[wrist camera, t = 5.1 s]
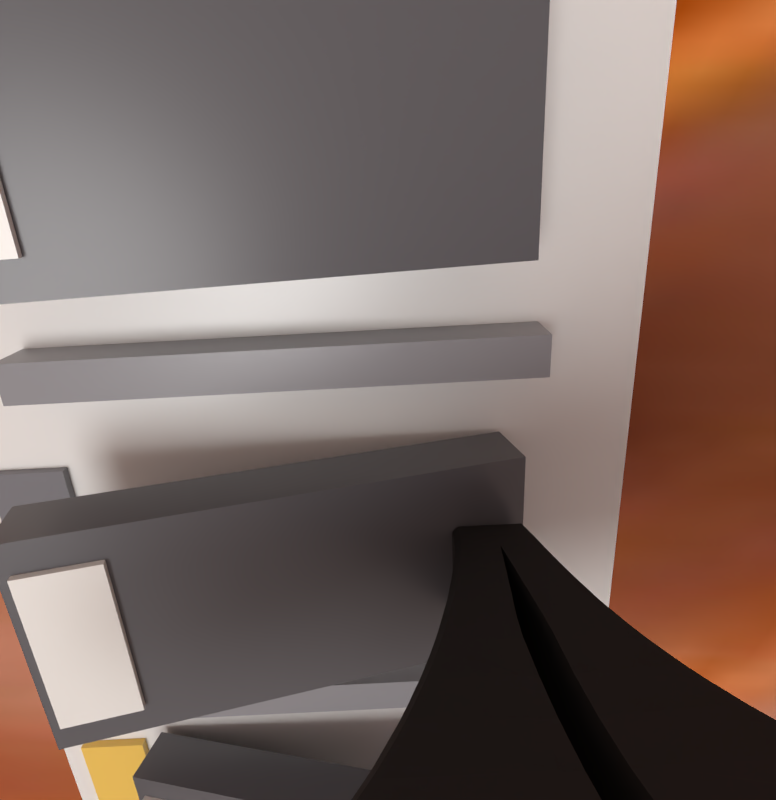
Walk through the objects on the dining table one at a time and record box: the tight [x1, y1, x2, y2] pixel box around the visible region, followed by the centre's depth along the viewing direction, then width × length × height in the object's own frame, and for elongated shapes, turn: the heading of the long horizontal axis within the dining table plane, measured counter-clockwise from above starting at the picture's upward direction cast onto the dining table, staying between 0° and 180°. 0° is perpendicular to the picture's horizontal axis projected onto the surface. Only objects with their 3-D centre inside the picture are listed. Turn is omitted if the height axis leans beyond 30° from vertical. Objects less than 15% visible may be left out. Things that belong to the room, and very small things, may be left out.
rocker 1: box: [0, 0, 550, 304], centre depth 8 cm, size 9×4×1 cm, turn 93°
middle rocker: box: [0, 431, 526, 750], centre depth 11 cm, size 9×4×1 cm, turn 93°
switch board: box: [0, 0, 677, 800], centre depth 13 cm, size 14×26×4 cm, turn 3°
